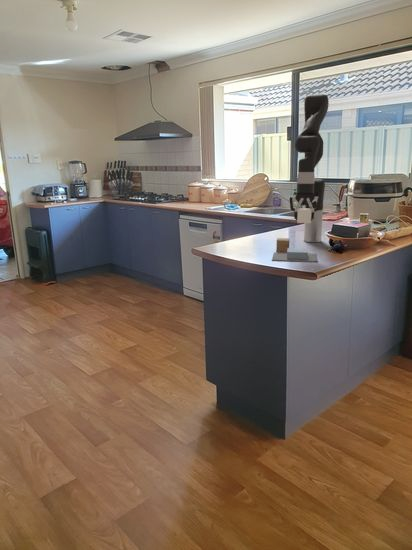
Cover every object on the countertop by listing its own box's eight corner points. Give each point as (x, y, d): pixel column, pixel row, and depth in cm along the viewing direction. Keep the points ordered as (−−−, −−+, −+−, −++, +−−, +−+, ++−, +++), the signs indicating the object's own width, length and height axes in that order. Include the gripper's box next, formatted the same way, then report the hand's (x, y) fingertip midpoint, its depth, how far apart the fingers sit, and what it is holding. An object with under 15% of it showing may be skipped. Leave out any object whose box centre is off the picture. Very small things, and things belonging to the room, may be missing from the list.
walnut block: (276, 249, 216) (277, 238, 214) (289, 250, 215) (289, 238, 213) (276, 252, 210) (276, 240, 209) (288, 252, 209) (289, 240, 207)
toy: (326, 249, 207) (326, 236, 220) (330, 260, 210) (330, 246, 222) (346, 244, 204) (345, 230, 216) (349, 255, 206) (348, 241, 218)
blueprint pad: (273, 253, 207) (274, 246, 206) (316, 254, 203) (317, 247, 202) (271, 260, 192) (272, 253, 191) (318, 262, 188) (318, 254, 187)
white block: (297, 221, 200) (297, 208, 199) (310, 221, 199) (311, 208, 198) (297, 222, 195) (297, 209, 193) (310, 223, 193) (311, 209, 192)
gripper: (321, 182, 195) (319, 219, 199) (289, 182, 198) (287, 219, 202) (322, 182, 188) (320, 221, 192) (289, 182, 191) (287, 220, 194)
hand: (303, 220), depth 197 cm, fingers closed on white block, 6 cm apart
